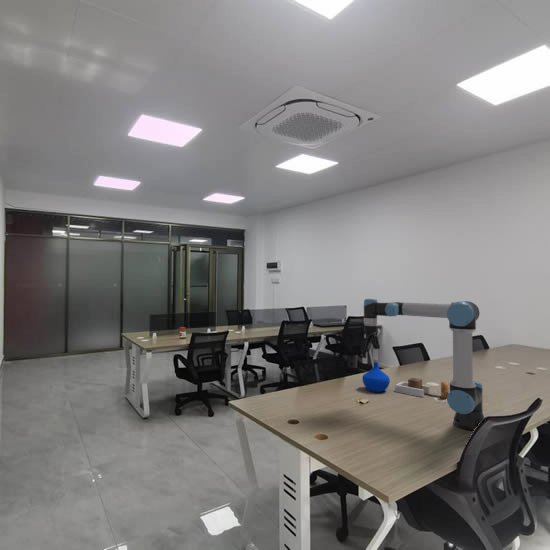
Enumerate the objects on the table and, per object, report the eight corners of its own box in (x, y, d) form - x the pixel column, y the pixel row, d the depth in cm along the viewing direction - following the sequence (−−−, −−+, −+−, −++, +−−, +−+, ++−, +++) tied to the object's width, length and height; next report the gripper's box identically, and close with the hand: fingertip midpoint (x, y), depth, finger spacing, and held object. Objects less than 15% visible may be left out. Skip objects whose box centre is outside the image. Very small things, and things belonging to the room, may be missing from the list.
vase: (380, 395, 235) (380, 366, 235) (357, 389, 248) (357, 362, 249) (394, 390, 247) (394, 363, 247) (372, 385, 260) (372, 358, 261)
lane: (429, 392, 243) (429, 386, 243) (423, 397, 233) (423, 390, 233) (402, 387, 255) (402, 381, 255) (395, 391, 245) (395, 385, 245)
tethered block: (450, 398, 231) (449, 382, 232) (446, 400, 226) (446, 384, 226) (411, 390, 247) (411, 376, 248) (408, 392, 242) (408, 378, 242)
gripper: (373, 323, 221) (373, 357, 220) (354, 326, 202) (354, 363, 201) (385, 324, 216) (385, 359, 215) (366, 327, 197) (366, 365, 196)
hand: (370, 361), depth 208 cm, fingers open, 13 cm apart
